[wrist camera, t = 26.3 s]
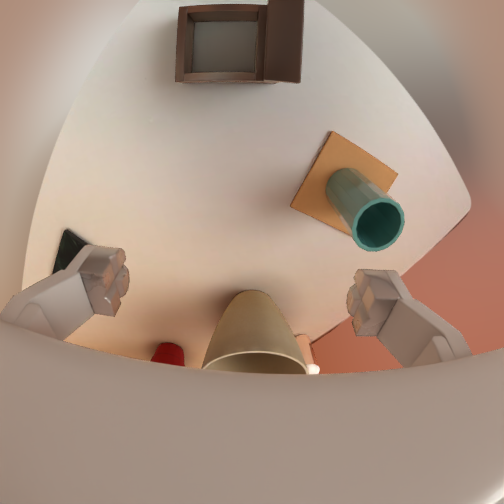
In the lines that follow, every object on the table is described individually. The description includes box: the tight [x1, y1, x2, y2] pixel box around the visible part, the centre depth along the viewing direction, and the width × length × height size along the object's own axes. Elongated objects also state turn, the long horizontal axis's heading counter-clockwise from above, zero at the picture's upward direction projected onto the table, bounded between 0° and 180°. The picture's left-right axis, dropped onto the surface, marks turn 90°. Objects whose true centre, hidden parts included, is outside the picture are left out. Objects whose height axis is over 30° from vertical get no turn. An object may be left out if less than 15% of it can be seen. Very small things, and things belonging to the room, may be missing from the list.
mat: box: [290, 131, 398, 235], centre depth 36 cm, size 12×12×1 cm
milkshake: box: [295, 334, 320, 374], centre depth 49 cm, size 5×5×10 cm
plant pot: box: [201, 290, 309, 374], centre depth 41 cm, size 15×15×16 cm
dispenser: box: [175, 0, 304, 84], centre depth 21 cm, size 12×10×13 cm
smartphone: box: [52, 230, 88, 274], centre depth 42 cm, size 7×1×15 cm
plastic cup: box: [151, 343, 185, 367], centre depth 50 cm, size 11×11×12 cm
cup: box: [325, 168, 405, 252], centre depth 32 cm, size 6×6×11 cm
